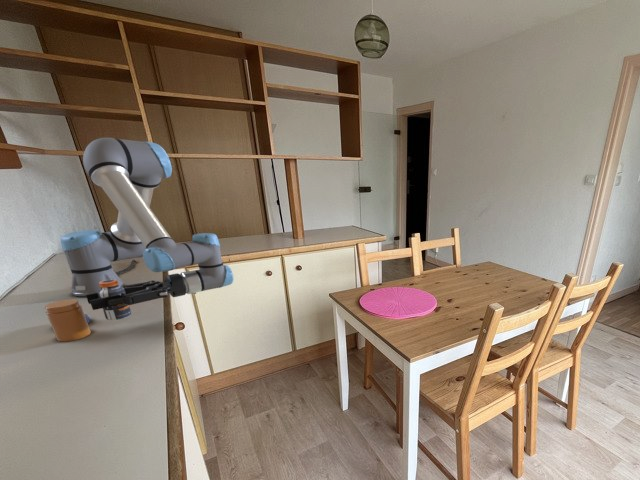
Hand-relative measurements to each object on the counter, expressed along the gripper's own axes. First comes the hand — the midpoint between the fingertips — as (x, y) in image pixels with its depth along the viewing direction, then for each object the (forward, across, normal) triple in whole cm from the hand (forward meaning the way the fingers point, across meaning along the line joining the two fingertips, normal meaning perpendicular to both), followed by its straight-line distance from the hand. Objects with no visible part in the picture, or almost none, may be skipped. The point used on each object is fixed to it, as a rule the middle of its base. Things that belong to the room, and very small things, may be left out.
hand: (89, 302), depth 88 cm
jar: (+5, +4, -10) cm, 12 cm away
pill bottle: (-5, 0, -6) cm, 8 cm away
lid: (+4, +14, -8) cm, 17 cm away
